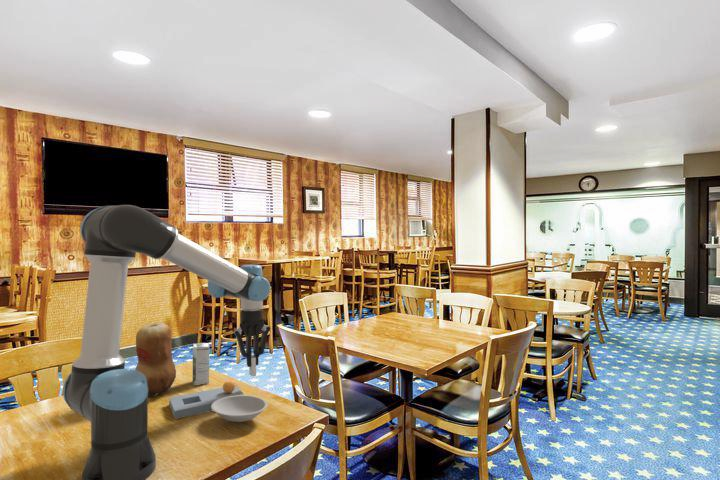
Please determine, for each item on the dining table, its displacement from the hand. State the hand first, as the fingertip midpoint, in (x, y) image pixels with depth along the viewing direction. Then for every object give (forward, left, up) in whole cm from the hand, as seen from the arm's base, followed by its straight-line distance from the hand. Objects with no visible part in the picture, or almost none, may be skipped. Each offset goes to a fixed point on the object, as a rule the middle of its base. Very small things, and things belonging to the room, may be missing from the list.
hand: (252, 374), depth 145 cm
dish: (-18, +9, -7) cm, 21 cm away
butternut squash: (+19, +29, -7) cm, 36 cm away
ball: (0, +8, -3) cm, 9 cm away
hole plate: (0, +15, -7) cm, 17 cm away
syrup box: (+22, +13, -7) cm, 27 cm away
